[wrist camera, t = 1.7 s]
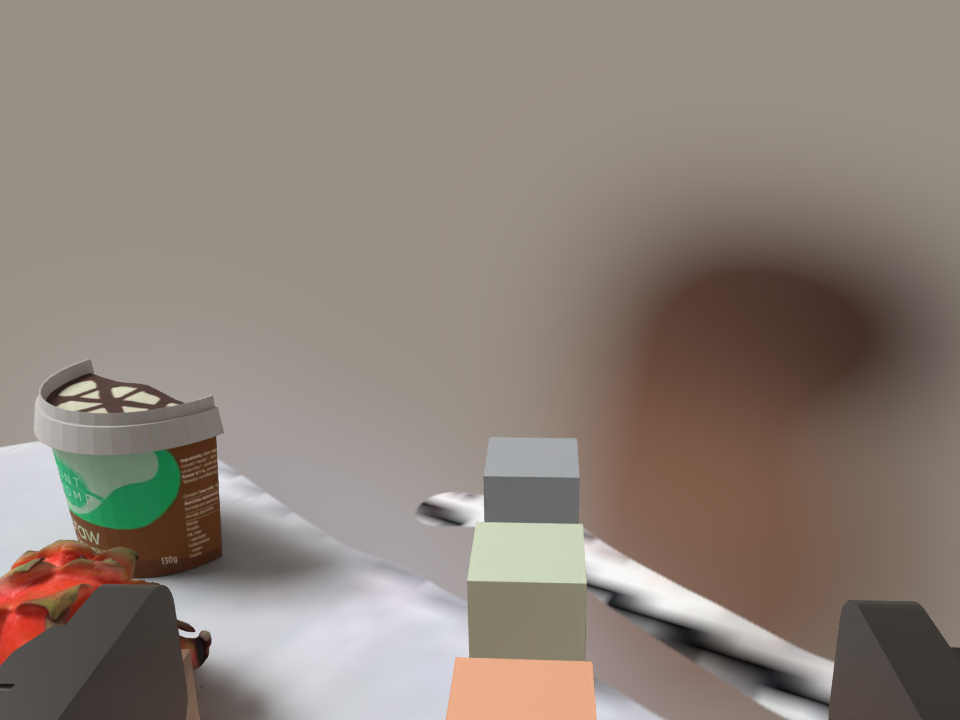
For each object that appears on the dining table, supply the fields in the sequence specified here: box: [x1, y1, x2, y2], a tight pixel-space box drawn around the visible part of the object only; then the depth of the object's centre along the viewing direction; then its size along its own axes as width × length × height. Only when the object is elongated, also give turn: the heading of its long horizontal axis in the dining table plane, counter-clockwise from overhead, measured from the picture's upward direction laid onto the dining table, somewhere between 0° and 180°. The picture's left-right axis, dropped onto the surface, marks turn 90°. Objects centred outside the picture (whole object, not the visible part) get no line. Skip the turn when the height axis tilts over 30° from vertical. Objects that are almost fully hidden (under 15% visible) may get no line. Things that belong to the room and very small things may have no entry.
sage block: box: [467, 522, 587, 661], centre depth 34 cm, size 4×4×10 cm
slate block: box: [484, 437, 579, 524], centre depth 41 cm, size 4×4×10 cm
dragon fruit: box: [0, 540, 211, 688], centre depth 37 cm, size 8×8×12 cm
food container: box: [34, 359, 224, 578], centre depth 50 cm, size 12×6×10 cm, turn 55°
